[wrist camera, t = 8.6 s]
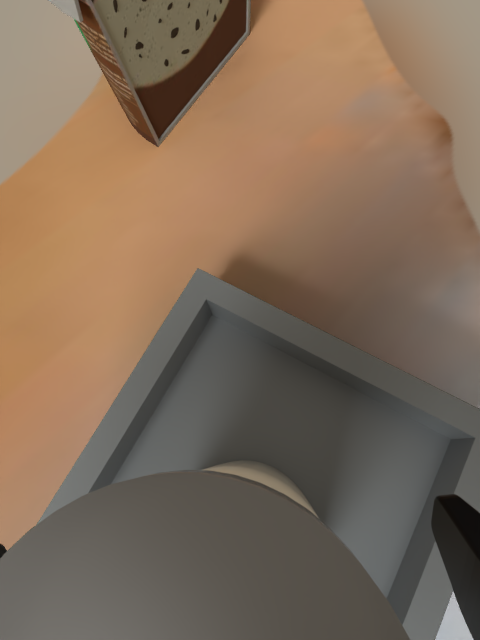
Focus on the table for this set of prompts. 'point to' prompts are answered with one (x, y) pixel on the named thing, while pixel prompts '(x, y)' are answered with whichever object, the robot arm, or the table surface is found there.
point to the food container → (159, 52)
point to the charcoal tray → (297, 433)
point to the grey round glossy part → (190, 565)
